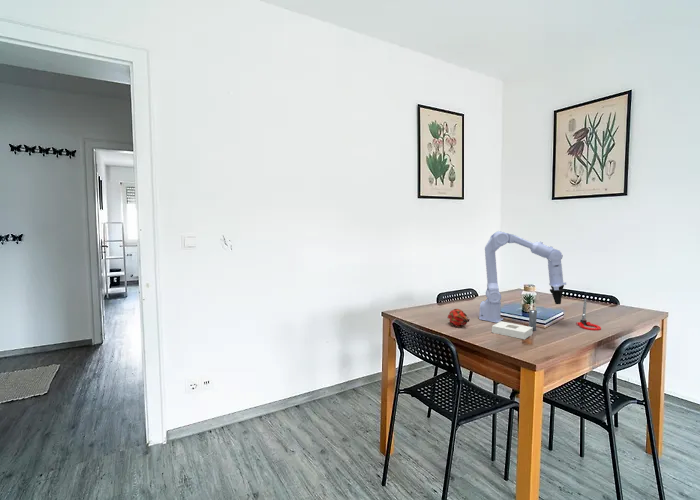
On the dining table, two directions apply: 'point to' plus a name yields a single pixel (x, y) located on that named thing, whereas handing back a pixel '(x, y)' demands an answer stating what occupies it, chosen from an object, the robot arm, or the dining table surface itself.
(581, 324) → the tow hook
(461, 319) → the dragon fruit
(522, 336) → the hole block
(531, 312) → the peg
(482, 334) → the dining table surface
